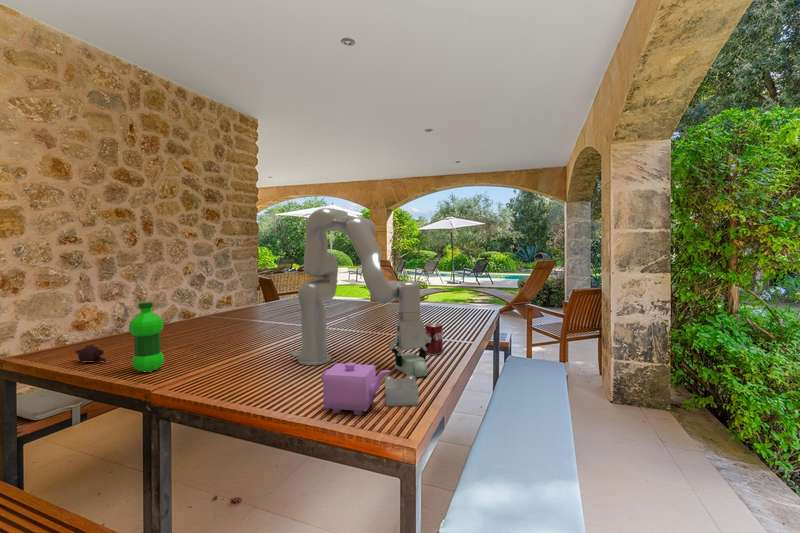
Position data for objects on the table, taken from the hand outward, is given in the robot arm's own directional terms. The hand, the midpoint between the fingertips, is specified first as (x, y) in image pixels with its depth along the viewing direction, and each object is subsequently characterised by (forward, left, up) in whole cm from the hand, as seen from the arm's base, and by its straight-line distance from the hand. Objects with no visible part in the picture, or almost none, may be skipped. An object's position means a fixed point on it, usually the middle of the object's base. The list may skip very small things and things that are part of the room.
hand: (411, 363), depth 138 cm
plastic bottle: (-95, +9, -3) cm, 96 cm away
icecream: (-125, +22, -3) cm, 127 cm away
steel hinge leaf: (-5, -24, -3) cm, 24 cm away
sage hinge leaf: (+1, -2, -3) cm, 3 cm away
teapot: (-18, -30, -3) cm, 35 cm away
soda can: (+12, +21, -3) cm, 24 cm away
